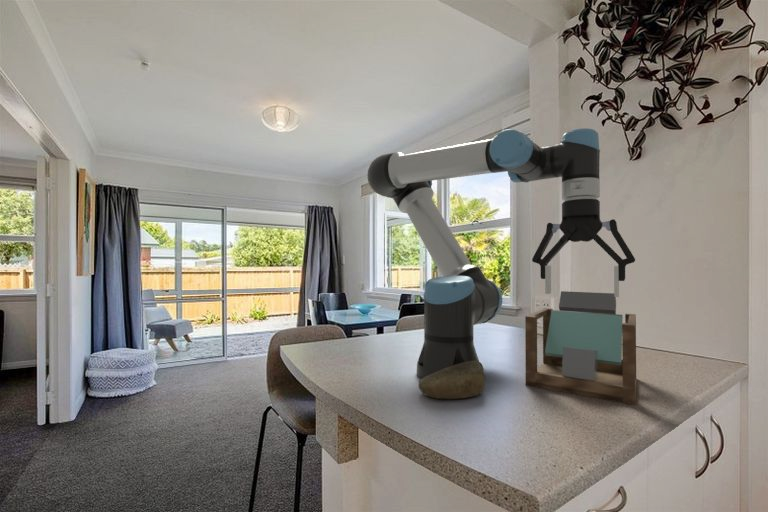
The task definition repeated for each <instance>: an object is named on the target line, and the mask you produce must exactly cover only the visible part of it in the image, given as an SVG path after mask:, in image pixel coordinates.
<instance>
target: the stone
mask: <svg viewBox="0 0 768 512" xmlns="http://www.w3.org/2000/svg"><path fill="white" fill-rule="evenodd" d="M483 366H484V365H483V363H481V362H480V360H479V361H467V362H463V363H459V364H456V365H453V366H450V367H447V368H444V369H442V370H439V371H437V372H435V373H433V374H430V375H428V376H426V377H424V378H421V379H420V380H419V382H418V389H419V390H420V392H422V394H423V395H425V396H427V397H430V398H432V399H437V400H457V399H459V400H460V399H467V398H472V397H477V396H479V395H481V394H482V393H483V391H484V389H485V384H486V374H485V371H484V367H483Z"/></svg>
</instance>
